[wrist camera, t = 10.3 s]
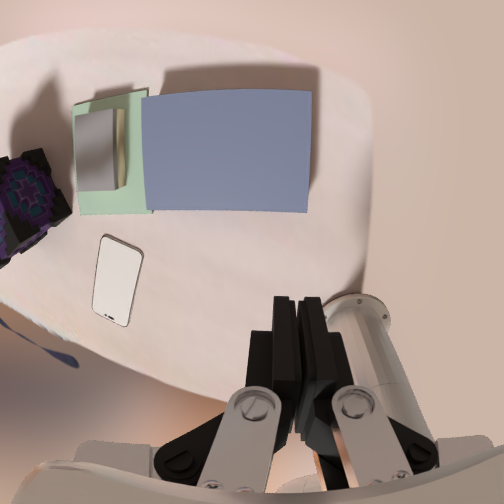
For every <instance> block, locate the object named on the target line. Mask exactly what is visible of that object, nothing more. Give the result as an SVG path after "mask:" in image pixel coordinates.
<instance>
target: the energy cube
mask: <svg viewBox="0 0 504 504" xmlns="http://www.w3.org/2000/svg"><path fill="white" fill-rule="evenodd" d="M51 171H52V170H51V168H50V166H49V164H48V161H47V159H46V157H45V154H44V152H43V150H42V148H39V149H35V150H30V151H26V152H23V153H22V155H21V156H20V157H19V158H16V159H12V160H9V158H8V156H6V157H2V158H0V269H1V268H2V267H4V266H5V265H7V264H8V263H9V262H10V260H11V257H12V256H14V255H15V254H17V253H18V252H20V254H22V253H24V252H25V251H27V250H28V249H30V248H31V247H33V246H34V245H36V244H37V243H38V242H39V241H40V240H41V239H43V238H44V237H45V236H46V235H47V232H46V231H47V230H48V229H49V228H50V227H56V226H58V225H59V224H60V223H61V222H62V221H63V220H65V219H66V218H67V217H68V216H70V215H71V214H72V211H71V209H70V207H69V206H68V204H67V202H66V200H65V198H64V196H63V194H62V192H61V190H60V189H56V188H55V186H54V184H53V182H52V180H51V178H50V173H51Z"/></svg>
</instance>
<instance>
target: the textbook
mask: <svg viewBox="0 0 504 504" xmlns="http://www.w3.org/2000/svg"><path fill="white" fill-rule="evenodd" d="M311 119H312V91H300V90H281V89H225V90H206V91H193V92H182V93H173V94H164V95H157V96H150V97H143V98H141V129H142V156H143V173H144V187H145V199H146V209H147V210H232V211H271V212H298V213H307V207H308V191H309V173H310V151H311Z"/></svg>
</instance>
